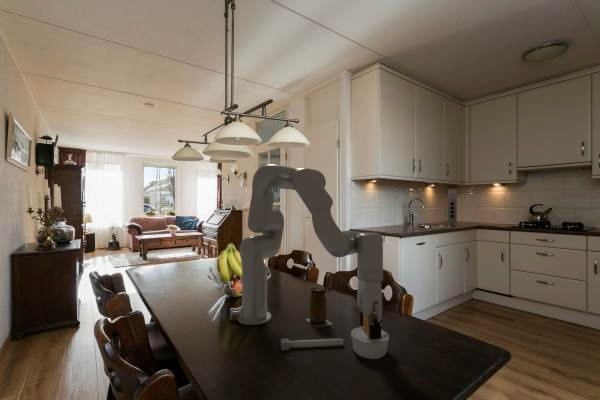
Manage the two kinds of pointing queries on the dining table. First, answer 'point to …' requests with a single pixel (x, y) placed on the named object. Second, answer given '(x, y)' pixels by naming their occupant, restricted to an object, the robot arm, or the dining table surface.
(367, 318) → the tan wooden block
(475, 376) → the dining table surface
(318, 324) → the condiment
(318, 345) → the long grey bar
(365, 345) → the ramekin
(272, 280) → the dining table surface
